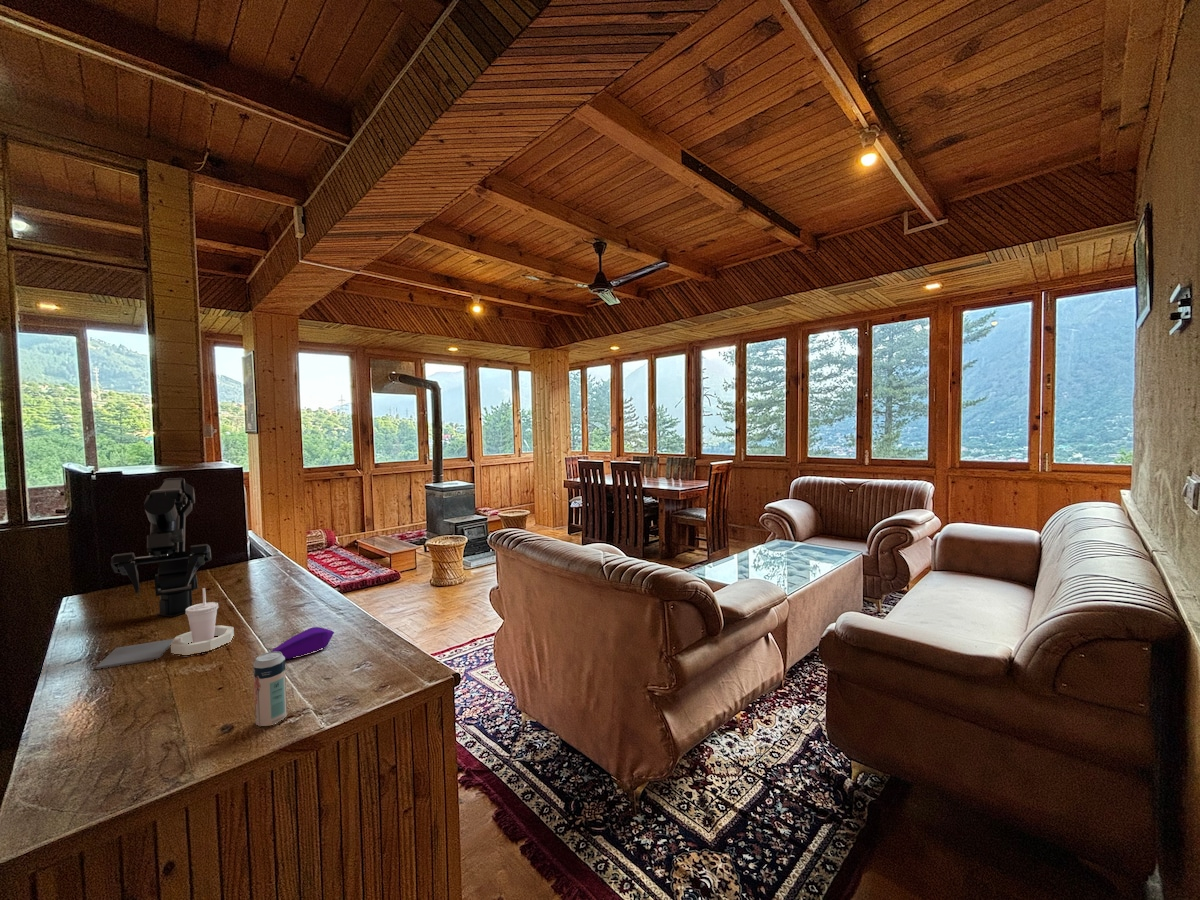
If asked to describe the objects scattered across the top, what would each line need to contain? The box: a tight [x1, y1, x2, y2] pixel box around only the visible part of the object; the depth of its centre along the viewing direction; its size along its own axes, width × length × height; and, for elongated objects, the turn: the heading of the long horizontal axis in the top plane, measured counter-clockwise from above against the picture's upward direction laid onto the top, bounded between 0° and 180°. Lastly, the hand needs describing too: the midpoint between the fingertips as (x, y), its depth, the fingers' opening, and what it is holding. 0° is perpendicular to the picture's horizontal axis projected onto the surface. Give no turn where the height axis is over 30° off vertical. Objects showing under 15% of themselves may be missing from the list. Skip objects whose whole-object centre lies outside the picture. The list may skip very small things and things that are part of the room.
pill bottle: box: [252, 651, 288, 727], centre depth 89 cm, size 5×5×12 cm
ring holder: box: [170, 624, 235, 655], centre depth 121 cm, size 12×12×2 cm
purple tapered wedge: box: [270, 626, 335, 661], centre depth 116 cm, size 5×5×15 cm
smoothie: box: [184, 587, 219, 643], centre depth 121 cm, size 6×6×14 cm
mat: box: [94, 638, 175, 670], centre depth 117 cm, size 11×11×1 cm
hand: (162, 589), depth 122 cm, fingers open, 9 cm apart
